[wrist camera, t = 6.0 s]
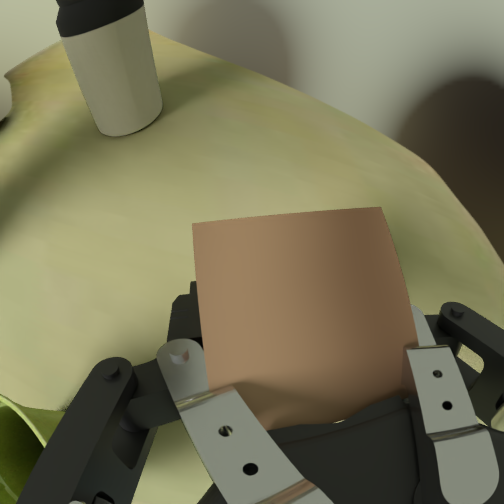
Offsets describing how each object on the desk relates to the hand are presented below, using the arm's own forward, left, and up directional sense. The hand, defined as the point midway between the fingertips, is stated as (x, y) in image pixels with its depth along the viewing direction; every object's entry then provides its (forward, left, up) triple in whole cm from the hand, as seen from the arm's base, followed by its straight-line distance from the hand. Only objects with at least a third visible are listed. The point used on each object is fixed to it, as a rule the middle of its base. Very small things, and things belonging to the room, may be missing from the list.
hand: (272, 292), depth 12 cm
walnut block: (0, -2, -5) cm, 5 cm away
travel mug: (-11, +24, -9) cm, 28 cm away
